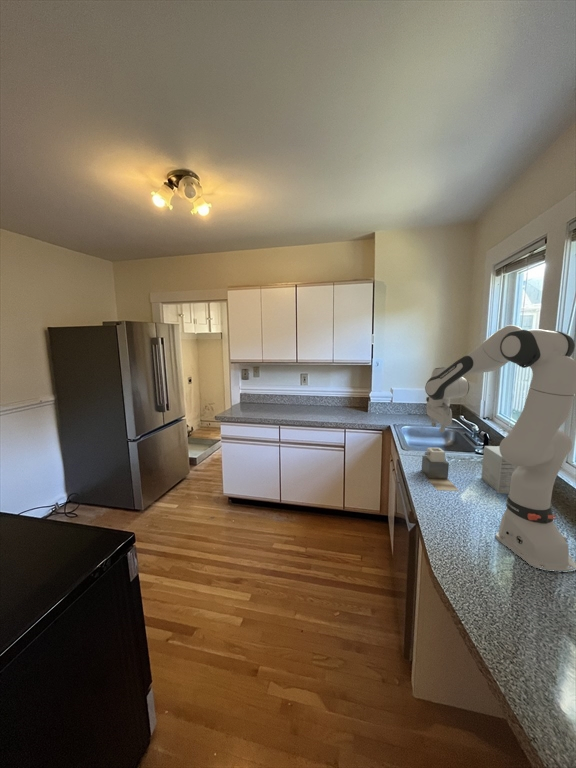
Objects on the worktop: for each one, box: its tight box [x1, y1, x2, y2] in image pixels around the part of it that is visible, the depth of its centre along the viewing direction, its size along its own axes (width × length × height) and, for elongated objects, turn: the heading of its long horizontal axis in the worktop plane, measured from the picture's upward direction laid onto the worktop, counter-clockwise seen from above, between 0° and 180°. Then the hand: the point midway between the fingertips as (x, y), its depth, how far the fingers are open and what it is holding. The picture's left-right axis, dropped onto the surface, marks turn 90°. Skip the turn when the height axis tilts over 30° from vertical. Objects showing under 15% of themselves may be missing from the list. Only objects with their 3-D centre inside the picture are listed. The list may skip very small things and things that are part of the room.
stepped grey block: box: [420, 455, 450, 480], centre depth 152 cm, size 9×9×11 cm
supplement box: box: [481, 445, 518, 495], centre depth 142 cm, size 13×13×18 cm
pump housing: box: [424, 447, 446, 462], centre depth 151 cm, size 6×8×5 cm
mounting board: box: [420, 470, 460, 492], centre depth 148 cm, size 21×10×2 cm, turn 177°
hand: (437, 429), depth 149 cm, fingers open, 8 cm apart
